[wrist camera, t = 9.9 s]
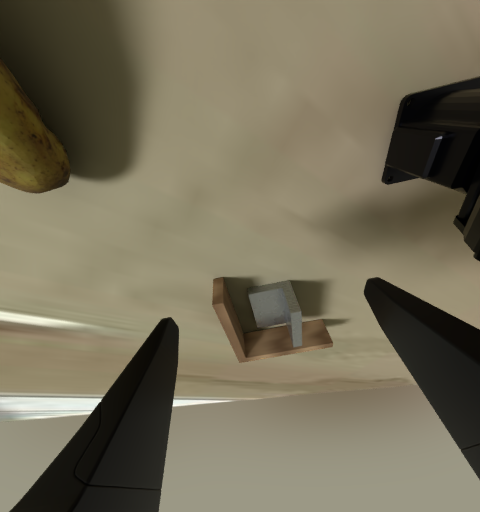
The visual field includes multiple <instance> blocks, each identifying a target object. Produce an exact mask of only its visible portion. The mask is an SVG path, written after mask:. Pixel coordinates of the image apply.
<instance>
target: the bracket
mask: <svg viewBox="0 0 480 512" xmlns="http://www.w3.org/2000/svg"><path fill="white" fill-rule="evenodd" d="M247 289H248V295H249V299H250V302H251V306H252V310H253V313H254V317H255V320H256V324H257V328H261V327H266V326H272V325H277V324H283V323H286V324H287V328H288V331H289V334H290V338H291V341H292V344H293V347H298V346H302V314H301V309H300V306H299V304H298V301H297V298H296V296H295V293H294V291H293V288H292V285H291V283H290V280H287V281H282V282H277V283H272V284H267V285H262V286H257V287H252V288H247Z"/></svg>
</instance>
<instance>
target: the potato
mask: <svg viewBox="0 0 480 512" xmlns="http://www.w3.org/2000/svg"><path fill="white" fill-rule="evenodd" d="M69 177H70V164H69V160H68V157H67V153H66V150H65V149H64V147H63V144H62V143H61V142H60V141H59V139H58V138H57V137H56V135H55V134H53V133H52V132H51V131H50V130H48V129H47V128H46V127H45V125H44V124H43V122H42V120H41V116H40V114H39V111H38V109H37V108H36V107H35V105H34V104H33V103H32V101H31V100H30V99H29V98H28V97H27V95H26V94H25V92H24V91H23V89H22V88H21V86H20V85H19V83H18V82H17V80H16V79H15V77H14V76H13V75H12V73H11V72H10V70H9V69H8V68H7V66H6V65H5V64H4V62H3V61H2V60H1V58H0V182H1V183H3V184H6V185H8V186H11V187H13V188H16V189H18V190H21V191H25V192H29V193H43V192H46V191H50V190H53V189H56V188H59V187H62V186H64V185H65V184H66V183H68V182H69V181H68V180H69Z"/></svg>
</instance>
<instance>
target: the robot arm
mask: <svg viewBox="0 0 480 512" xmlns="http://www.w3.org/2000/svg"><path fill="white" fill-rule="evenodd" d="M409 100H411V101H410V104H409V105H408V106H407V103H408V101H409ZM389 177H390V179H389V180H387V179H388V178H389ZM416 178H422V179H426V180H428V181H431V182H434V183H437V184H439V185H442V186H445V187H448V188H450V189H454V190H457V191H459V192H462V193H465V194H467V195H466V197H465V200H464V202H463V205H462V207H461V209H460V212H459V214H458V215H457V216H456V217H455V219H454V222H453V223H454V225H455V226H456V227H457V228H458V229H459V230H460V231H461V233H462V234H463V236H464V241H465V243H466V244H467V245H468V246H469V247H470V248H471V250H472V251H473V252H475V253H474V255H473V257H474V258H475V259H477V260H478V261H480V76H479V77H475V78H471V79H467V80H463V81H459V82H455V83H451V84H447V85H443V86H439V87H435V88H431V89H427V90H423V91H419V92H415V93H411V94H408V95H406V96H405V97H404V98H403V99H402V101H401V103H400V106H399V110H398V114H397V118H396V122H395V127H394V131H393V134H392V138H391V142H390V146H389V150H388V154H387V158H386V162H385V168H384V172H383V176H382V182H383V183H385V184H387V185H388V184H393V183H398V182H402V181H407V180H411V179H416ZM364 295H365V297H366V299H367V301H368V303H369V305H370V307H371V309H372V311H373V313H374V315H375V317H376V319H377V321H378V323H379V325H380V327H381V328H382V330H383V332H384V333H385V335H386V336H387V338H388V339H389V341H390V342H391V344H392V346H393V347H394V349H395V350H396V352H397V353H398V355H399V356H400V358H401V359H402V361H403V362H404V364H405V366H406V367H407V369H408V370H409V372H410V373H411V375H412V376H413V378H414V379H415V381H416V382H417V384H418V385H419V387H420V389H421V390H422V392H423V393H424V395H425V396H426V398H427V399H428V401H429V402H430V404H431V405H432V407H433V408H434V410H435V412H436V413H437V415H438V416H439V418H440V419H441V421H442V422H443V424H444V425H445V427H446V429H447V430H448V431H449V433H450V435H451V436H452V438H453V439H454V441H455V442H456V444H457V445H458V447H459V448H460V449H461V452H462V453H463V455H464V456H465V458H466V459H467V461H468V462H469V464H470V466H471V467H472V468H473V470H474V472H475V473H476V475H477V476H478V478H479V479H480V330H479V329H477V328H475V327H474V326H472V325H470V324H468V323H466V322H464V321H462V320H460V319H458V318H456V317H454V316H452V315H450V314H448V313H447V312H445V311H443V310H441V309H439V308H437V307H435V306H433V305H431V304H429V303H427V302H425V301H423V300H421V299H420V298H418V297H416V296H414V295H412V294H410V293H408V292H406V291H404V290H402V289H400V288H398V287H396V286H394V285H393V284H391V283H389V282H387V281H385V280H383V279H381V278H378V277H375V278H370V279H368V280H367V282H366V285H365V289H364ZM178 346H179V328H178V326H177V324H176V323H175V322H174V320H173V319H172V318H171V317H168V318H163V319H162V320H161V321H160V322H159V323H158V325H157V326H156V327H155V329H154V330H153V331H152V333H151V334H150V335H149V337H148V338H147V339H146V341H145V342H144V343H143V345H142V346H141V347H140V349H139V350H138V351H137V353H136V354H135V355H134V357H133V358H132V359H131V361H130V362H129V364H128V365H127V366H126V368H125V369H124V370H123V372H122V373H121V374H120V376H119V377H118V378H117V380H116V381H115V382H114V384H113V385H112V386H111V388H110V389H109V390H108V392H107V393H106V394H105V396H104V397H103V399H102V400H101V402H100V403H99V404H98V405H97V406H96V408H95V409H94V411H93V412H92V413H91V415H90V416H89V417H88V418H87V420H86V421H85V422H84V424H83V425H82V426H81V428H80V429H79V430H78V431H77V433H76V434H75V435H74V436H73V438H72V439H71V440H70V441H69V443H68V444H67V445H66V446H65V447H64V449H63V450H62V451H61V452H60V453H59V455H58V456H57V457H56V458H55V459H54V461H53V462H52V463H51V464H50V465H49V467H48V468H47V469H46V470H45V471H44V473H43V474H42V475H41V476H40V477H39V479H38V480H37V481H36V482H35V484H34V485H33V486H32V487H31V488H30V489H29V491H28V492H27V493H26V494H25V495H24V496H23V498H22V499H21V500H20V501H19V502H18V503H17V504H16V505H15V506H14V507H13V509H11V510H10V511H9V512H158V511H159V504H160V496H161V488H162V480H163V473H164V465H165V458H166V450H167V443H168V435H169V427H170V420H171V413H172V405H173V398H174V390H175V382H176V375H177V367H178Z"/></svg>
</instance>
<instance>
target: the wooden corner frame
mask: <svg viewBox="0 0 480 512" xmlns="http://www.w3.org/2000/svg"><path fill="white" fill-rule="evenodd" d="M212 305H213V308H214V310H215V312H216V314H217V316H218V318H219V320H220V322H221V325H222V327H223V329H224V331H225V333H226V335H227V337H228V339H229V341H230V344H231V346H232V348H233V350H234V352H235V354H236V356H237V358H238V361H239V363H242V362H248V361H253V360H259V359H265V358H271V357H277V356H282V355H288V354H294V353H300V352H306V351H312V350H317V349H323V348H329V347H332V346H333V342H332V339H331V337H330V335H329V333H328V331H327V329H326V327H325V325H324V322H323V320H322V319H320V320H315V321H309V322H304V323H302V346H298V347H293V344H292V341H291V338H290V334H289V331H288V328H287V326H282V327H276V328H271V329H265V330H260V331H254V332H249V333H243V331H242V328H241V325H240V323H239V320H238V317H237V314H236V312H235V309H234V306H233V304H232V301H231V298H230V295H229V293H228V290H227V287H226V284H225V282H224V279H223V277H221V278H216V279H214V280H213V301H212Z"/></svg>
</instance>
